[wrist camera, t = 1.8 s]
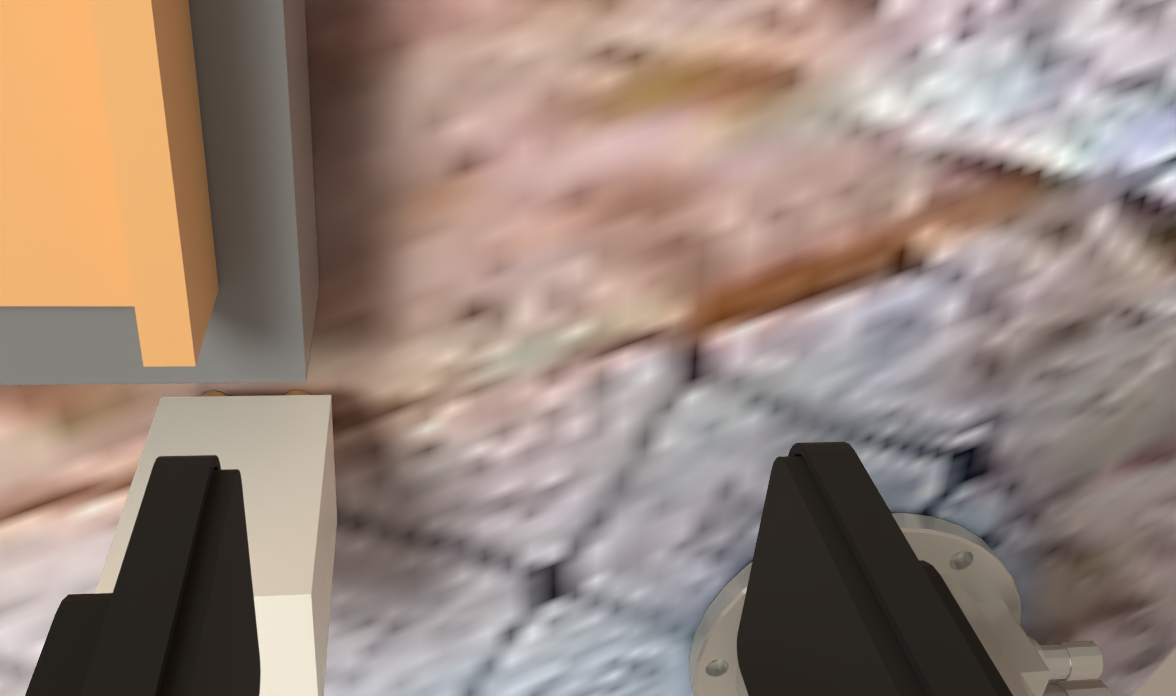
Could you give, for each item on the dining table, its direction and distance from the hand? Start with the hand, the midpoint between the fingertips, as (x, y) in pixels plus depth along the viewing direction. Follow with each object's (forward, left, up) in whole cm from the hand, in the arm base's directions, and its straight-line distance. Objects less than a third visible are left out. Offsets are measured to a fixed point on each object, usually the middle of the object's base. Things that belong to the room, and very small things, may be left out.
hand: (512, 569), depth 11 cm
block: (+5, +12, -19) cm, 24 cm away
